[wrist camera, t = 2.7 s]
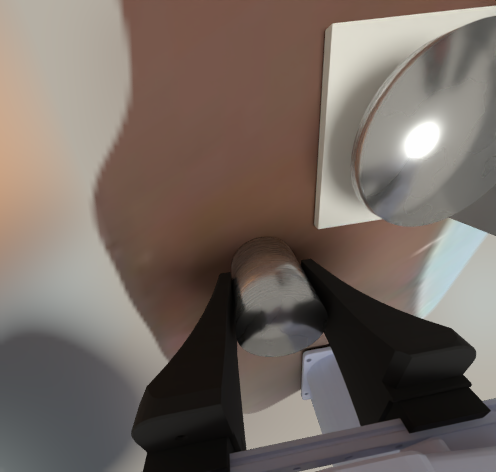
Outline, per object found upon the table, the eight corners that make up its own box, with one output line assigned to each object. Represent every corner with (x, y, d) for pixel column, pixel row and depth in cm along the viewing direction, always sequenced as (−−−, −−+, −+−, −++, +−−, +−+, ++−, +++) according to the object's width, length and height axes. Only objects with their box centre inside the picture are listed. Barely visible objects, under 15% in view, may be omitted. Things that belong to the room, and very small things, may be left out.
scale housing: (451, 203, 13) (536, 231, 9) (314, 225, 12) (349, 262, 9) (532, 7, 8) (749, -78, 5) (325, 30, 8) (404, -45, 5)
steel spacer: (293, 283, 15) (324, 348, 10) (236, 293, 15) (242, 363, 10) (294, 232, 13) (332, 286, 8) (226, 242, 12) (228, 304, 8)
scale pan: (471, 208, 10) (490, 214, 9) (340, 229, 9) (350, 237, 9) (563, 16, 6) (604, 3, 6) (366, 39, 6) (384, 28, 5)
